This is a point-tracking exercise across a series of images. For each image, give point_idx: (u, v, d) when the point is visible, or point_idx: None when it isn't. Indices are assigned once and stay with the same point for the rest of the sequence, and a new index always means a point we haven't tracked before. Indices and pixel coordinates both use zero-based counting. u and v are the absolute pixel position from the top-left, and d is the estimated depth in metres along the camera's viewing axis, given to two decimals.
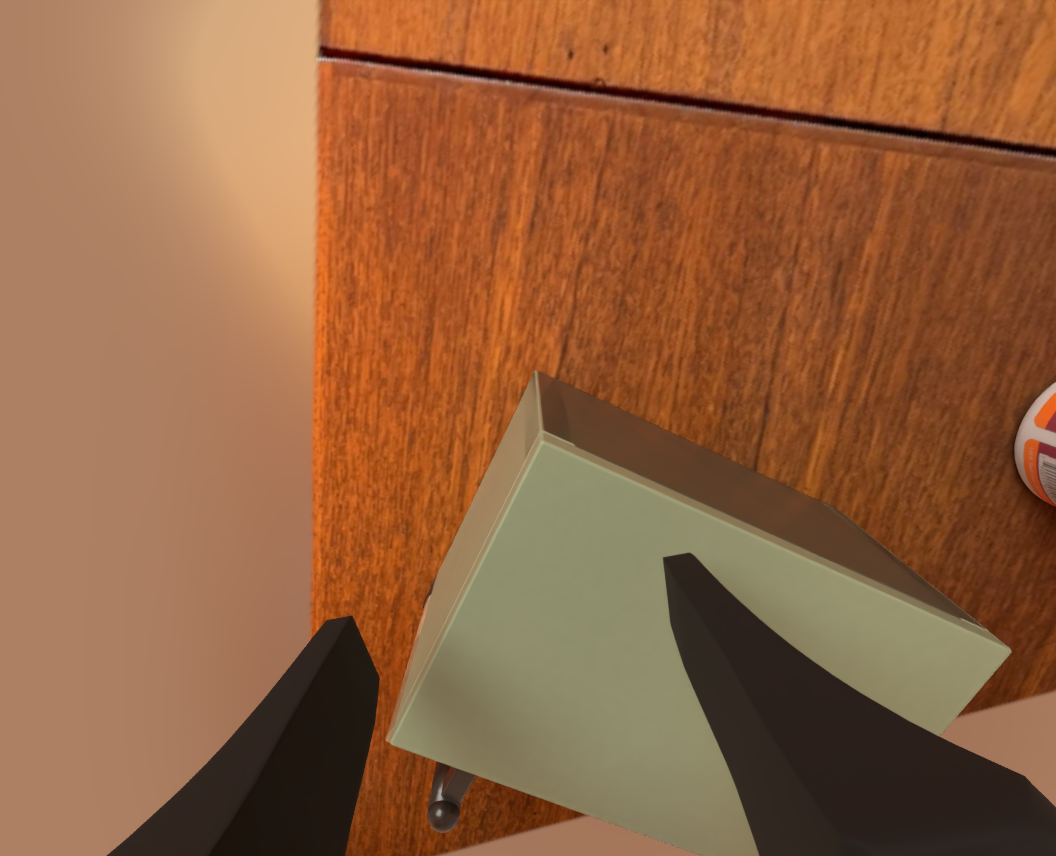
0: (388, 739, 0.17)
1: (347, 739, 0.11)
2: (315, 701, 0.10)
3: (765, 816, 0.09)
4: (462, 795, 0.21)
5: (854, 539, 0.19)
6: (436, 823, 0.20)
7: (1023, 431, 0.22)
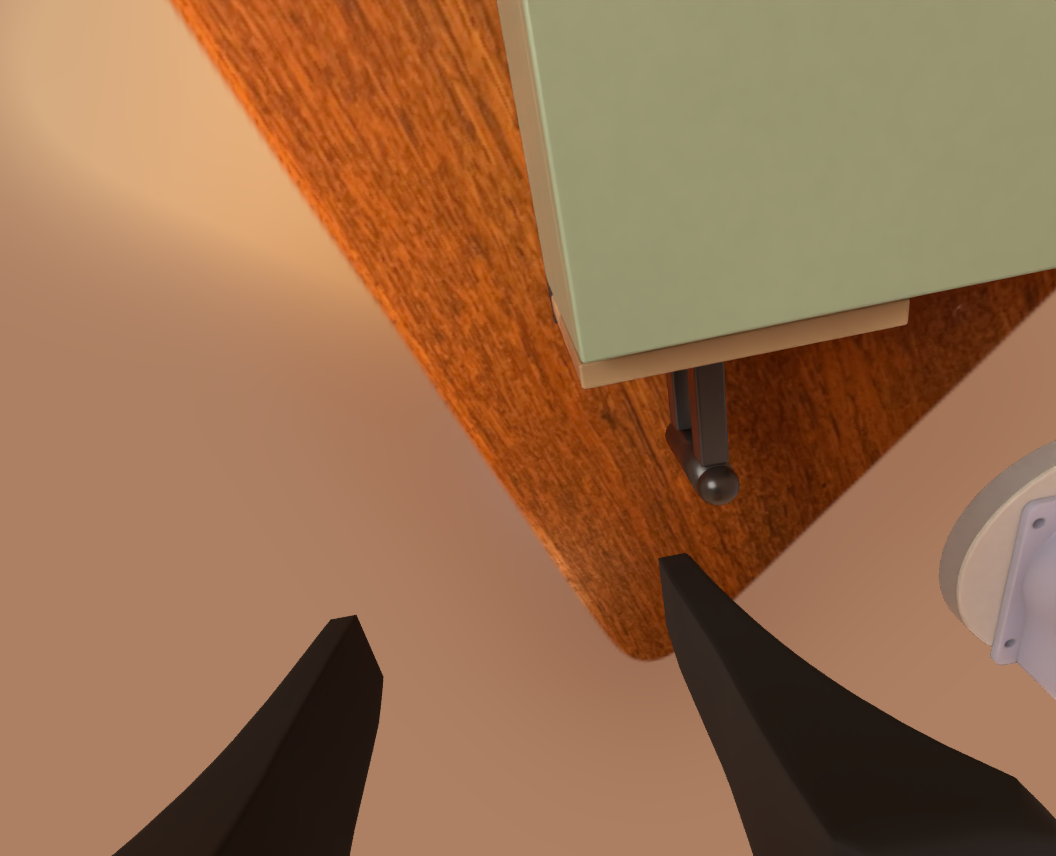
0: (584, 383, 0.12)
1: (352, 738, 0.11)
2: (320, 700, 0.10)
3: (759, 817, 0.09)
4: (726, 449, 0.16)
5: None
6: (715, 492, 0.16)
7: None
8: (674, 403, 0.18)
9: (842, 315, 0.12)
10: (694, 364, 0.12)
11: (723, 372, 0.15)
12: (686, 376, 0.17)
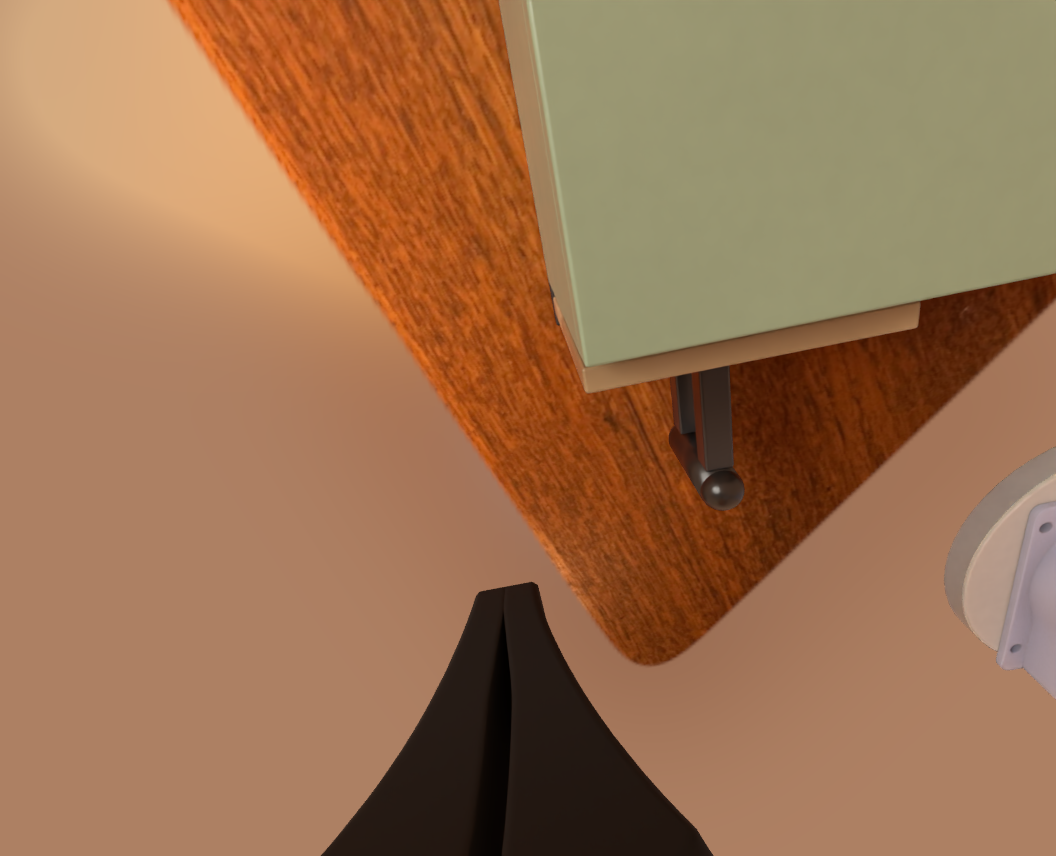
0: (587, 387, 0.12)
1: None
2: (499, 668, 0.10)
3: None
4: (731, 454, 0.15)
5: None
6: (720, 497, 0.15)
7: None
8: (677, 406, 0.17)
9: (851, 318, 0.11)
10: (700, 368, 0.12)
11: (728, 375, 0.14)
12: (690, 379, 0.17)
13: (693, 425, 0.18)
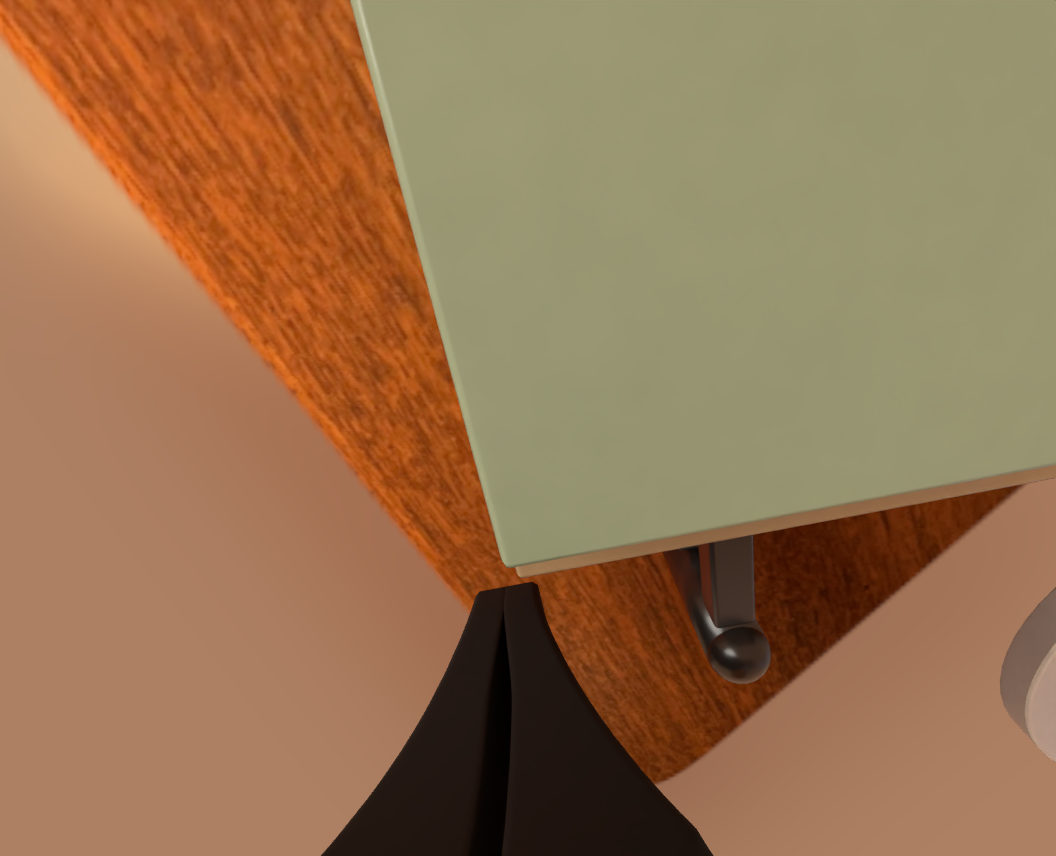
0: (520, 571, 0.07)
1: None
2: (499, 667, 0.10)
3: None
4: (752, 606, 0.10)
5: None
6: (736, 671, 0.10)
7: None
8: None
9: None
10: (710, 539, 0.07)
11: None
12: None
13: None
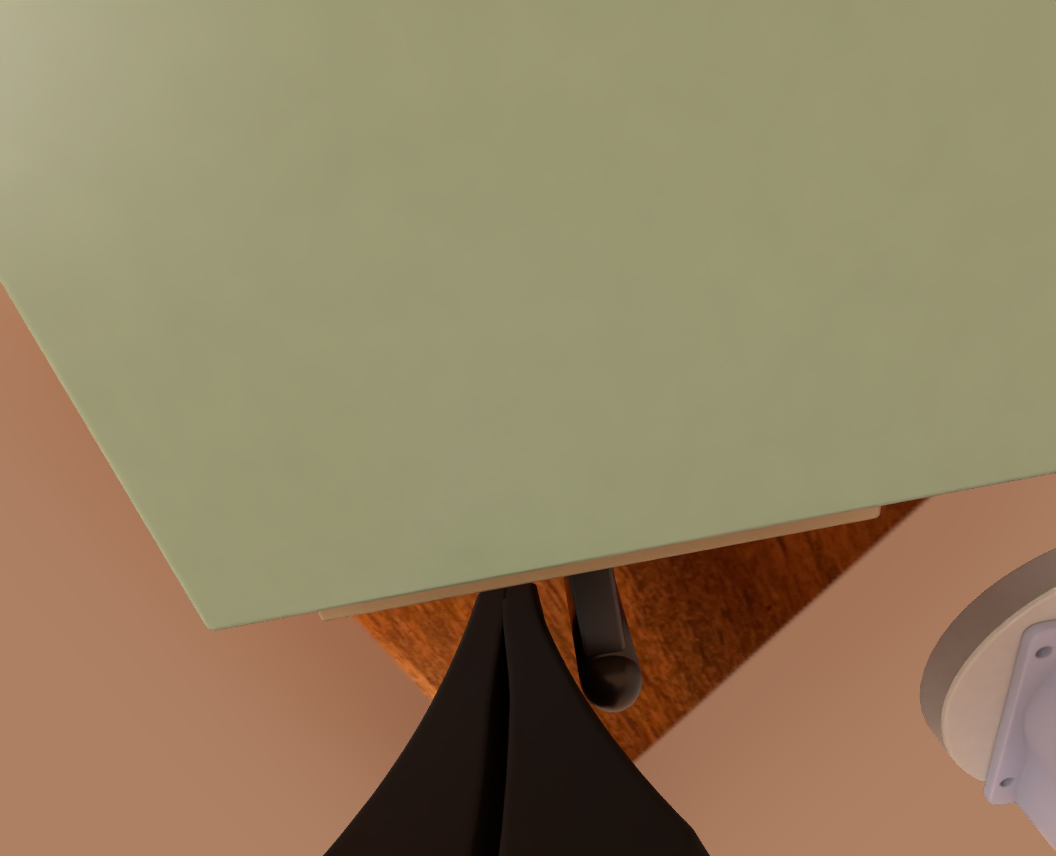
0: (321, 614, 0.07)
1: None
2: (501, 667, 0.10)
3: None
4: (619, 635, 0.10)
5: None
6: (603, 700, 0.10)
7: None
8: None
9: None
10: (509, 583, 0.07)
11: None
12: None
13: None
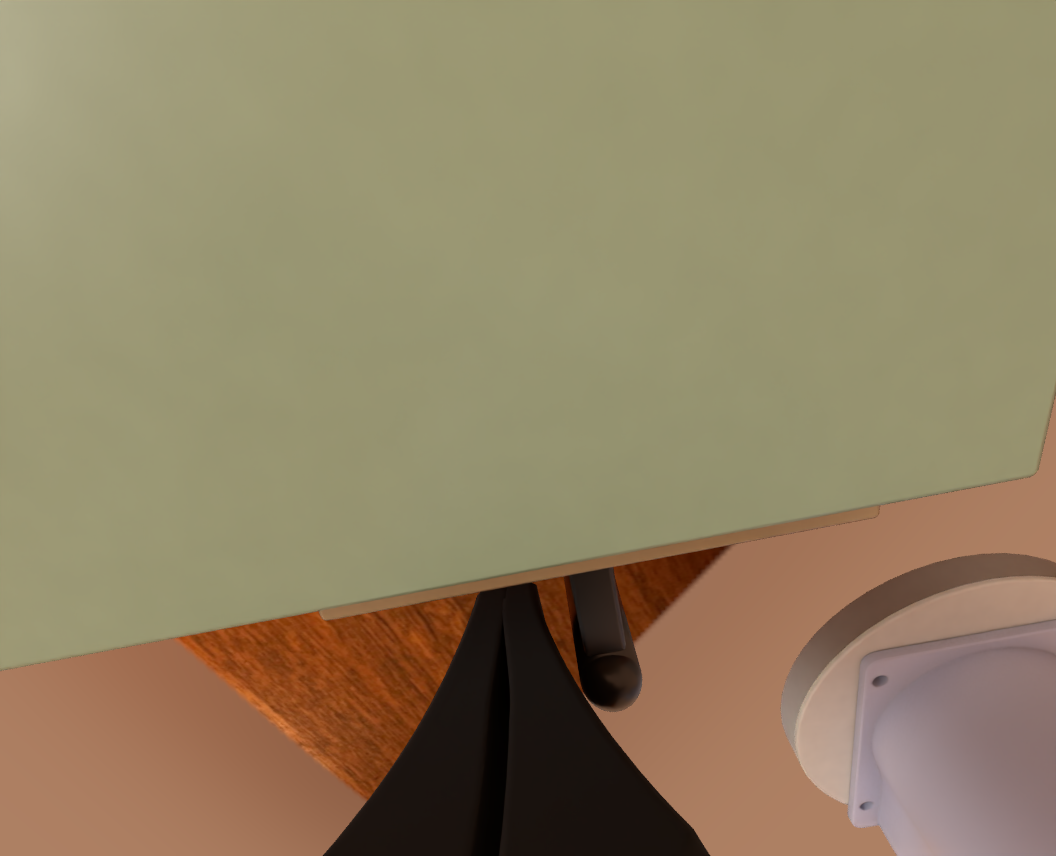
0: (322, 614, 0.07)
1: None
2: (501, 667, 0.10)
3: None
4: (619, 635, 0.11)
5: None
6: (603, 700, 0.10)
7: None
8: None
9: None
10: (509, 583, 0.07)
11: None
12: None
13: None
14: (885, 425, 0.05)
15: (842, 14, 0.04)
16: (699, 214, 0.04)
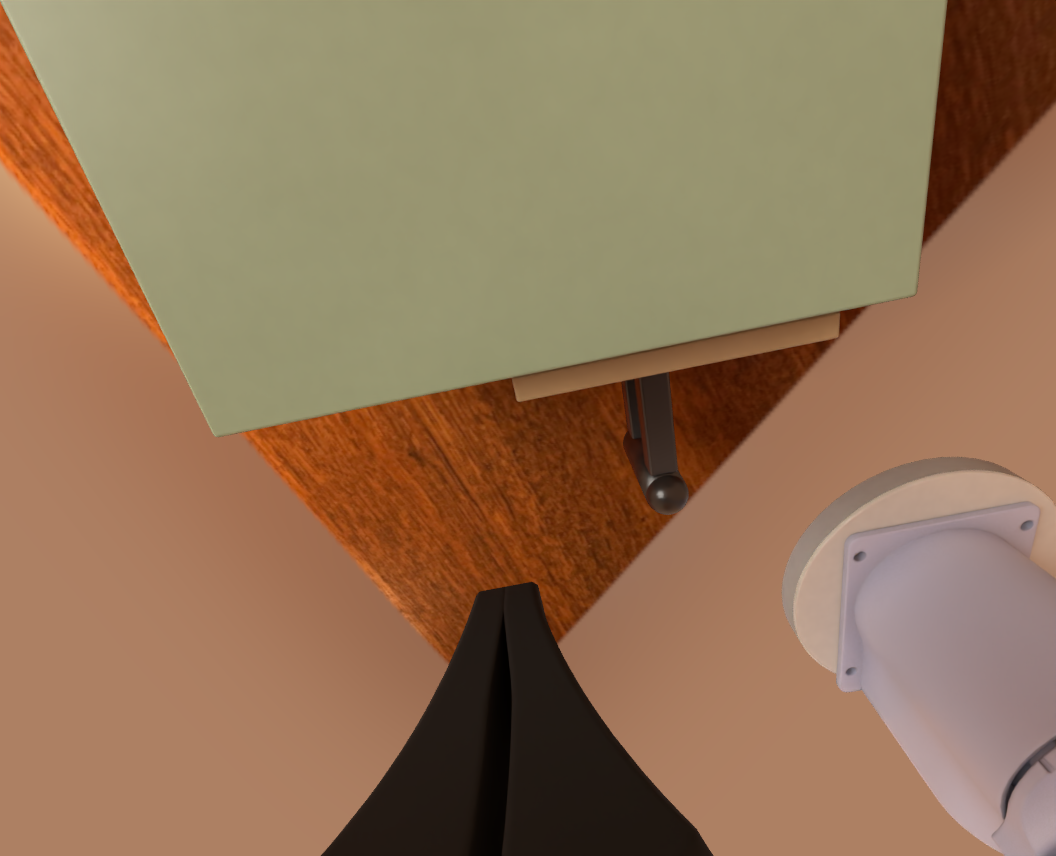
0: (518, 396, 0.12)
1: None
2: (499, 668, 0.10)
3: None
4: (674, 459, 0.16)
5: None
6: (663, 502, 0.16)
7: None
8: (628, 411, 0.18)
9: (773, 328, 0.12)
10: (627, 377, 0.12)
11: (668, 383, 0.15)
12: None
13: None
14: (836, 263, 0.10)
15: (810, 63, 0.09)
16: (746, 152, 0.09)
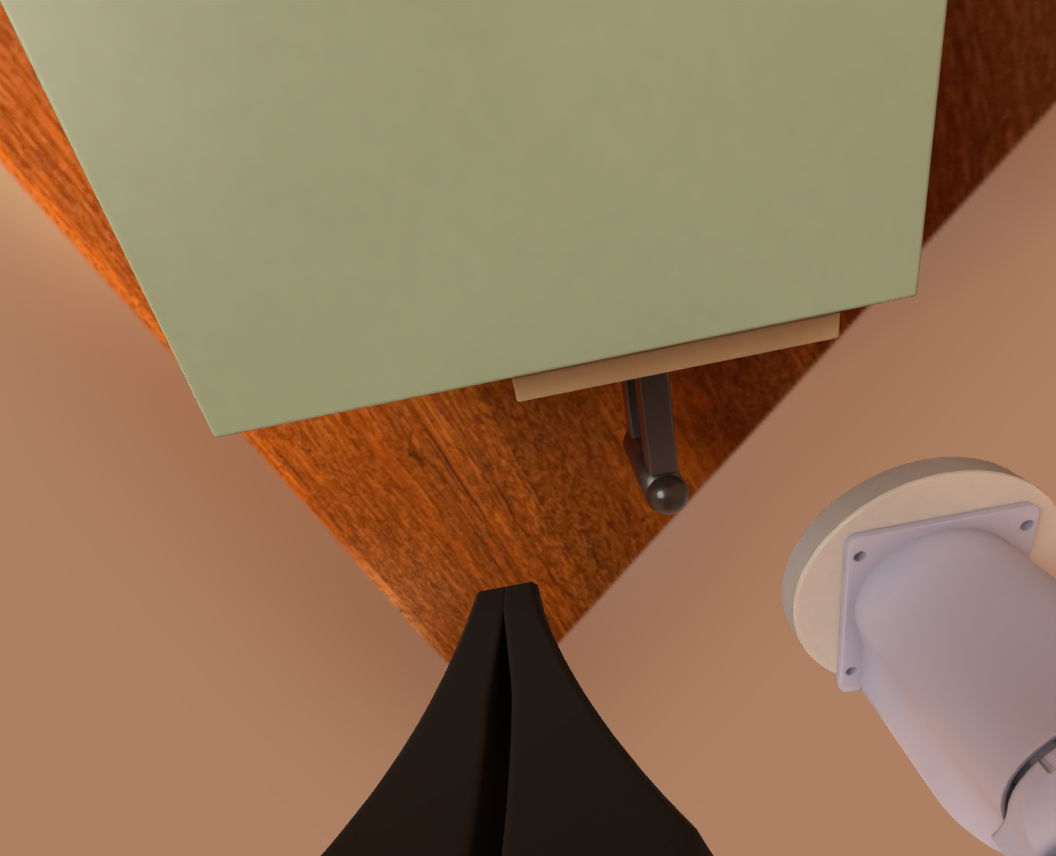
0: (518, 396, 0.12)
1: None
2: (499, 668, 0.10)
3: None
4: (674, 459, 0.16)
5: None
6: (663, 502, 0.16)
7: None
8: (628, 411, 0.18)
9: (773, 328, 0.12)
10: (627, 377, 0.12)
11: (668, 383, 0.15)
12: None
13: None
14: (836, 263, 0.10)
15: (810, 63, 0.09)
16: (746, 152, 0.09)
